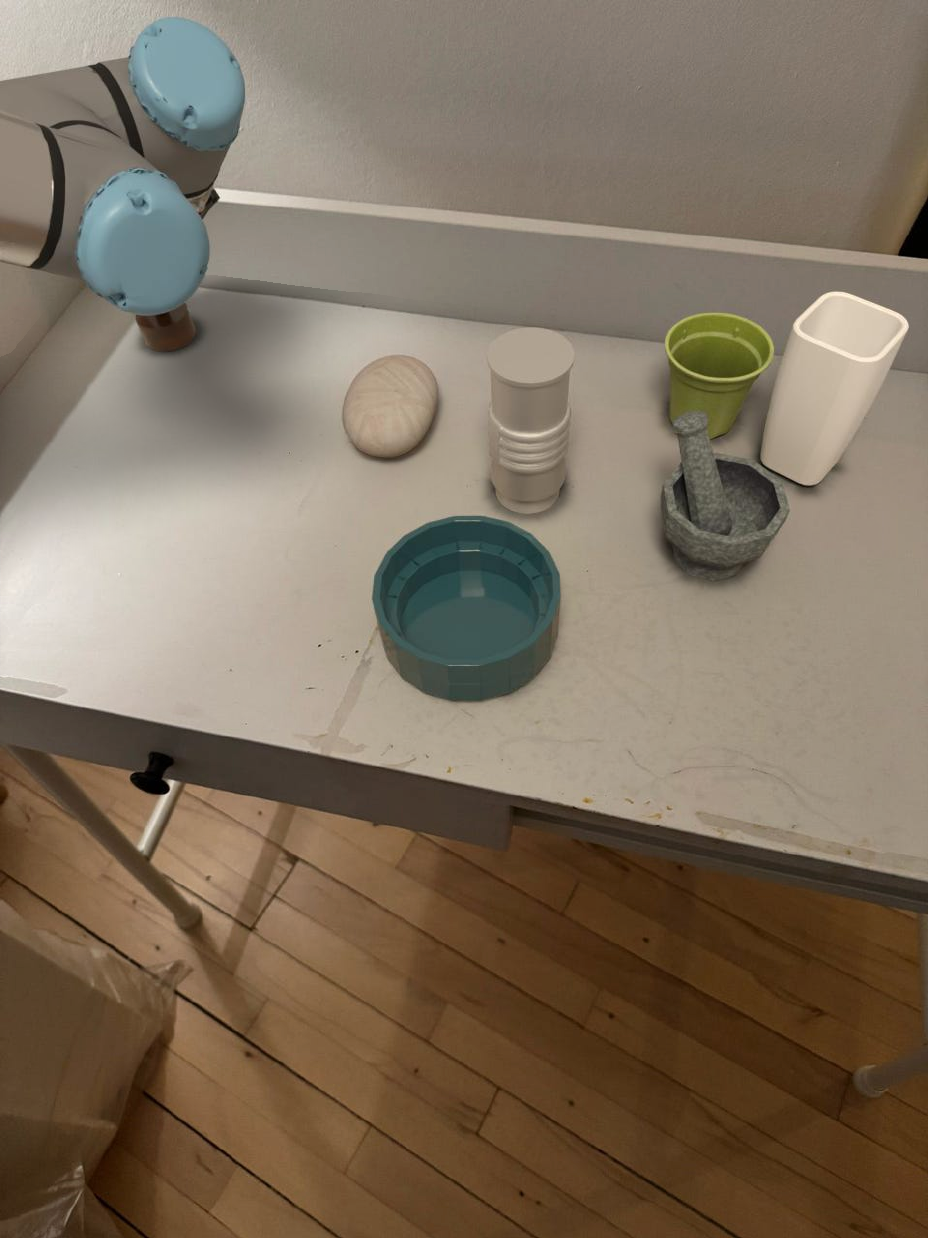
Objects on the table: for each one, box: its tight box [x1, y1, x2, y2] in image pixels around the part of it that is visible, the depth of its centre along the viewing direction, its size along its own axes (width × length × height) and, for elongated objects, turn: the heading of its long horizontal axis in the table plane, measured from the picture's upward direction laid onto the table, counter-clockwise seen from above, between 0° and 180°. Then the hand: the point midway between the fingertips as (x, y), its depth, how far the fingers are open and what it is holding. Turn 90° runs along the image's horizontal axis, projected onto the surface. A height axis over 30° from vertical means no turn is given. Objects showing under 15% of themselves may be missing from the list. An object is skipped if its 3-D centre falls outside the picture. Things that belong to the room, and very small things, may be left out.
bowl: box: [371, 515, 562, 702], centre depth 65 cm, size 14×14×6 cm
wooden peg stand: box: [134, 302, 197, 353], centre depth 86 cm, size 6×6×15 cm
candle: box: [486, 326, 576, 515], centre depth 70 cm, size 7×7×15 cm
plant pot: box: [664, 312, 775, 440], centre depth 77 cm, size 9×9×9 cm
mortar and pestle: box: [660, 411, 791, 582], centre depth 67 cm, size 11×9×12 cm
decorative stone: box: [341, 354, 439, 458], centre depth 80 cm, size 13×9×5 cm
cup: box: [760, 291, 910, 486], centre depth 71 cm, size 7×7×15 cm
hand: (134, 278), depth 89 cm, fingers closed on wooden peg stand, 1 cm apart
